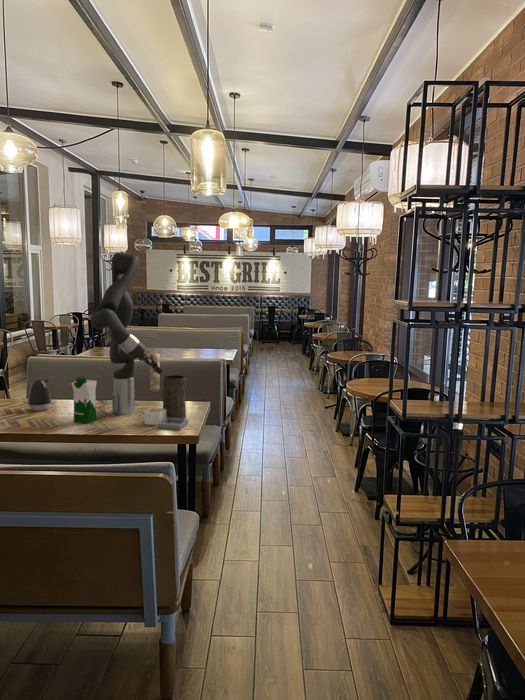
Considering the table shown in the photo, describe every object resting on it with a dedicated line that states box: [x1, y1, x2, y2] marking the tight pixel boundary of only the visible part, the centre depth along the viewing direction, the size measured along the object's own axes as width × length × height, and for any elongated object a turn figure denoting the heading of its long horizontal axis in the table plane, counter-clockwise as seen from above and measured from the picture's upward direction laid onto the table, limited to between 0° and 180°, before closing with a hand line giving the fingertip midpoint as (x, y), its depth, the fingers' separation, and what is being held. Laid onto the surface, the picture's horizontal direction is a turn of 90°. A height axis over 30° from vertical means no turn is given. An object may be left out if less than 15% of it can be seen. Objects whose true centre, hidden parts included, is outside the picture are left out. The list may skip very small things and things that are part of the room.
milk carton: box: [71, 376, 98, 424], centre depth 214 cm, size 9×9×20 cm
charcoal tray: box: [157, 418, 189, 431], centre depth 209 cm, size 10×10×2 cm
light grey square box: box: [143, 407, 166, 426], centre depth 213 cm, size 7×7×6 cm
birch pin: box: [149, 353, 161, 392], centre depth 210 cm, size 4×4×16 cm
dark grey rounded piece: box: [27, 378, 52, 412], centre depth 231 cm, size 10×10×15 cm
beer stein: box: [162, 374, 187, 419], centre depth 223 cm, size 15×11×20 cm
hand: (159, 371), depth 211 cm, fingers closed on birch pin, 4 cm apart
